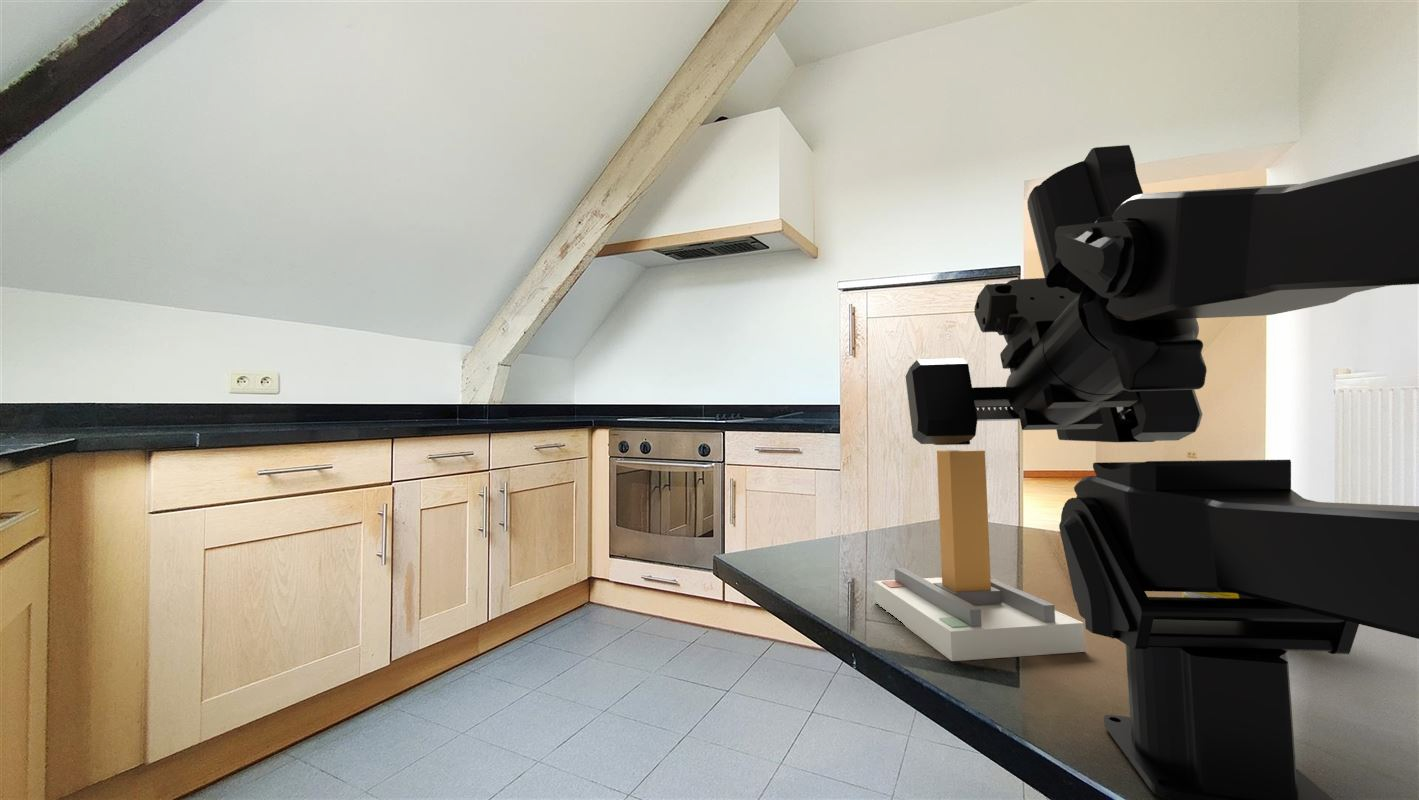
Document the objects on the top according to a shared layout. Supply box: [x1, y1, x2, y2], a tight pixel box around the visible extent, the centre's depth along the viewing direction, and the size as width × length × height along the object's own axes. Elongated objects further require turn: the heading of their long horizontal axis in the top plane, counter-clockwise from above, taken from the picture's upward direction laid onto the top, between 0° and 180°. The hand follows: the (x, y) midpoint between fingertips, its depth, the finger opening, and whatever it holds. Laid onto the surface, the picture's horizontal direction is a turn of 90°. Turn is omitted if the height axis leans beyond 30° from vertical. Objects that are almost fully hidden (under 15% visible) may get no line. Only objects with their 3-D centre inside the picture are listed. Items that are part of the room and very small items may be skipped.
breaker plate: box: [873, 567, 1086, 662], centre depth 45 cm, size 13×10×3 cm
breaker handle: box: [933, 449, 1001, 605], centre depth 46 cm, size 3×4×12 cm
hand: (1003, 435), depth 49 cm, fingers open, 9 cm apart
